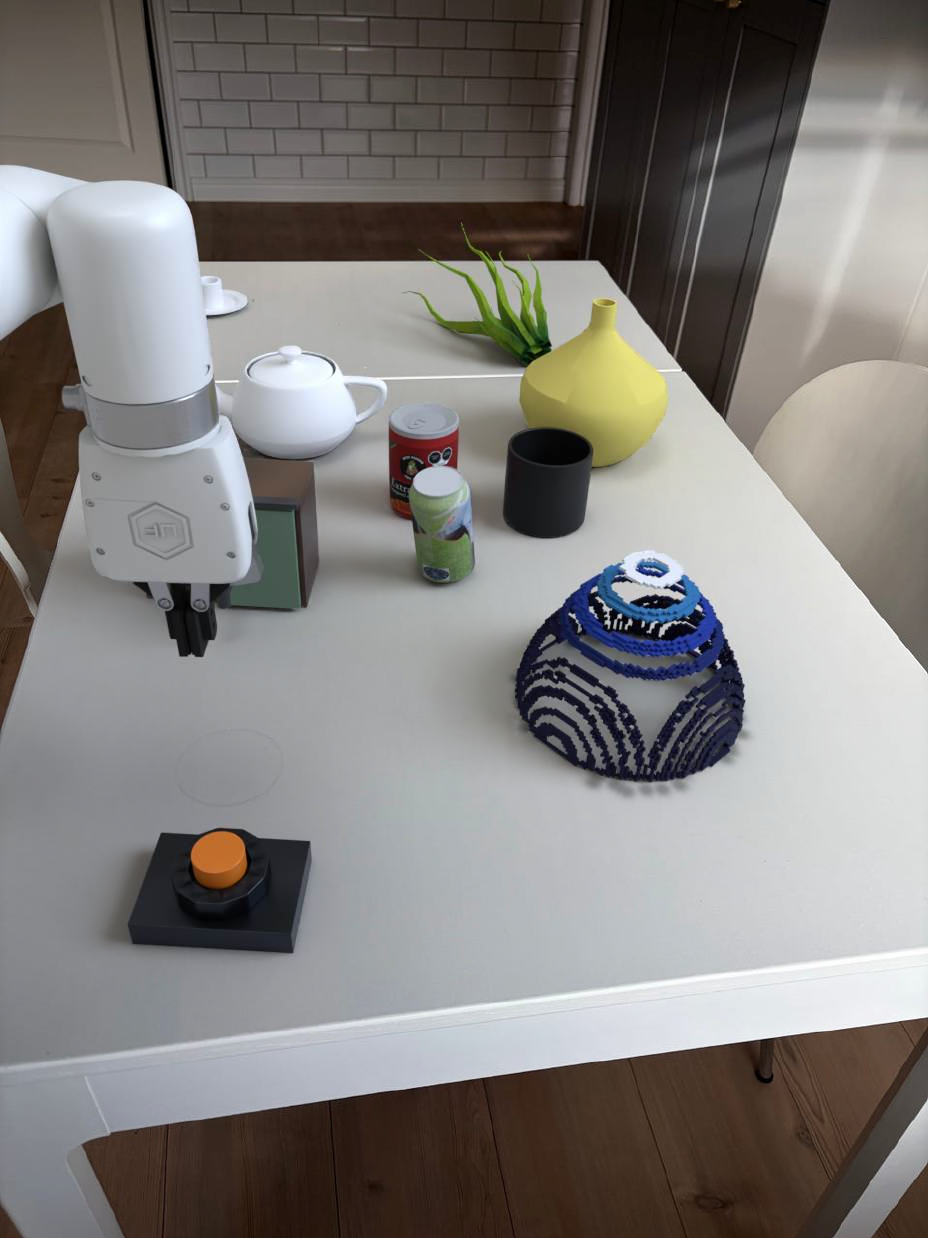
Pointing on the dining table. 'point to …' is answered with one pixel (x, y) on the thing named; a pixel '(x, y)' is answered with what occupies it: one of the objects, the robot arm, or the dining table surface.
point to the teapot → (295, 404)
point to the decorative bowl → (637, 669)
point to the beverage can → (442, 524)
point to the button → (219, 860)
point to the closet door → (271, 565)
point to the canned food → (419, 447)
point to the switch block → (223, 897)
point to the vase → (596, 390)
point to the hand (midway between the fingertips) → (196, 644)
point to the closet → (289, 508)
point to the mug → (547, 481)
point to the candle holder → (220, 297)
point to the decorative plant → (505, 315)
